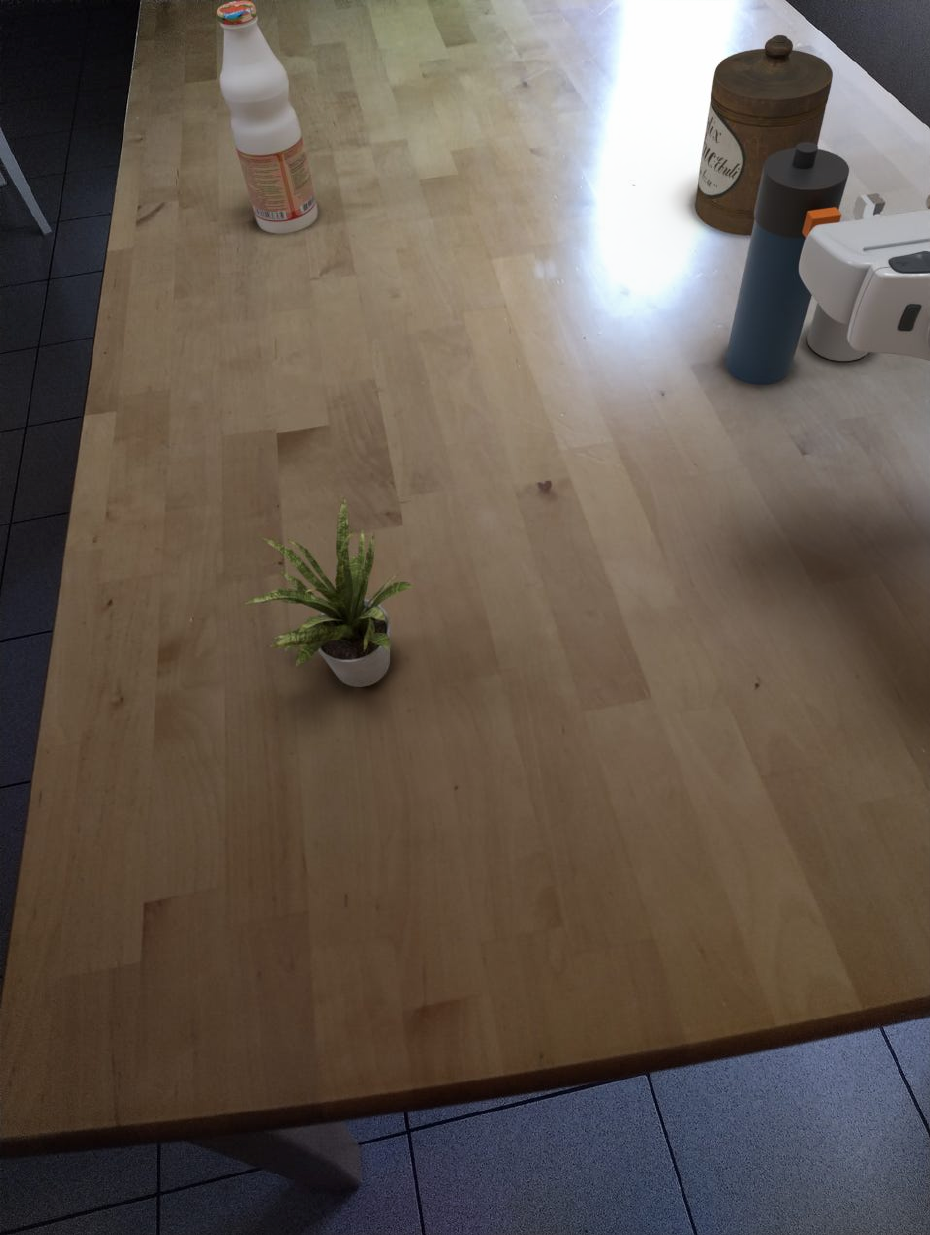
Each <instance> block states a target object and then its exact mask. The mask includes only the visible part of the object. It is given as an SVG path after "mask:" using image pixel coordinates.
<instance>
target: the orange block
mask: <svg viewBox="0 0 930 1235" xmlns="http://www.w3.org/2000/svg"><path fill="white" fill-rule="evenodd" d="M841 217H842V213H841V212H840V211H839V209H837V208H836V207H834V208H827V209H820V210H812V211H808V212H807V216H806V219H805V223H804V227H803V231H802V233H803V234H804V236H805V237H806V238H807V236H808V234H809V232H810V231H811V230H812V228H813V227H815V226H816V225H820V224H828V223H836V222H841Z"/></svg>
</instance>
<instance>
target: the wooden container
mask: <svg viewBox="0 0 930 1235" xmlns="http://www.w3.org/2000/svg"><path fill="white" fill-rule="evenodd" d="M833 78H834V71H833V69H832V67H831V66H830V64H829V63H828V62H827V61H825V60H824V59H822V58H821V57H819V56H816V55H815V54H811V53H809V52H804V51H800V50H794V44H793V41H792V40H791V39H790V38H788V36H787V35H784V34H776V35H774V36H772V37H771V38H769V39H768V40H767V41H766V42H765V44H764V48H757V49H750V50H743V51H741V52H738V53H735V54H732V55H729V56H727V57H726V58H724V59H722V60H721V61H720V62H719V63H718V64H717V65H716V67H715V69H714V73H713V77H712V84H711V92H710V101H709V102H710V103H709V108H708V114H707V121H706V128H705V133H704V140H703V145H702V151H701V157H700V164H699V171H698V179H697V188H696V193H695V203H694V210H695V213H696V214H697V216H698V217H699V219H700V220H701V221H702V222H704V223H705V224H706V225H707V226H709V227H712V228H713V229H715V230H718V231H721V232H724V233H728V234H732V235H738V236H751V234H752V230H753V225H754V220H755V219H754V210H755V205H756V201H757V196H758V191H759V186H760V181H761V176H762V171H763V167H764V163H765V161H766V160H767V159H768V158H769V157H770V156H771V155H773V154H774V153H776V152H779V151H782V150H785V149H791V148H796V147H797V145H798V144H799V143H802V142H811V143H814V144H816V145H817V146H818V145H819V141H820V135H821V131H822V128H823V123H824V119H825V118H824V117H825V115H826V114H825V113H826V108H827V104H828V101H829V97H830V93H831V89H832V85H833V84H832V83H833ZM818 147H819V146H818Z"/></svg>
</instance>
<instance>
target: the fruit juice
mask: <svg viewBox="0 0 930 1235" xmlns="http://www.w3.org/2000/svg"><path fill="white" fill-rule="evenodd" d="M216 15H217V20H218V22H219V25H220V27H221V28H222V29H223V45H222V46H223V49H222V50H223V53H222V66H221V70H220V75H219V87H220V88H219V89H220V92H221V96H222V98H223V100H224V102H225V104H226V105H227V108H228V109H229V112H230V130H231V134H232V140H233V143H234V148H235V150H236V153H237V157H238V160H239V165H240V167H241V171H242V174H243V178H244V181H245V185H246V188H247V192H248V195H249V200H250V203H251V207H252V210H253V214H254V217H255V220H256V223H257V225H258V227H259V228H260V229H261V230H263V231H265V232H267V233H271V234H291V233H294V232H299V231H301V230H303V229H305V228H307V227H309V226H310V225H311V224H313V223H314V222H315V221H316V219H317V217H318V215H319V211H318V210H319V209H318V205H317V203H318V202H317V198H316V195H315V190H314V185H313V181H312V176H311V172H310V167H309V162H308V157H307V153H306V149H305V144H304V141H303V134H302V131H301V130H302V129H301V125H300V122H299V119H298V114H297V113H296V110H295V108H294V107H293V105H292V104H291V102H290V81H289V77H288V73H287V71H286V68H285V67H284V65H283V63H282V62H280V60H279V59H278V58H277V57H276V55H275V54H274V52H273V51H272V49H271V47H270V45H269V43H268V41H267V40H266V38H265V35H264V34H263V32H262V31H261V29H260V27H259V26H258V23H257V22H258V19H259V18H258V12H257V8H256V5H255V4H254V2H252V1H249V0H234V1H230V2H226V3H224V4H222V5H220V6H219V7H218V8H217V10H216Z"/></svg>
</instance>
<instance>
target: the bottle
mask: <svg viewBox="0 0 930 1235" xmlns="http://www.w3.org/2000/svg"><path fill="white" fill-rule="evenodd" d="M849 174H850V167H849V164H848V163H847V162H846V160H845V159H844V158H842V157H841V156H839V155H838V154H836V153H834V152H831V151H829V150H826V149H821V148H819V146H817V145H816V144H814V143H811V142H802V143H799V144H798V145H797V147H796V148H791V149H785V150H782V151H779V152H776V153H774V154H773V155H771V156H770V157H769V158H768V159H767V160H766V161H765V163H764V167H763V171H762V176H761V181H760V186H759V191H758V196H757V201H756V205H755V210H754V219H755V220H754V225H753V230H752V234H751V235H750V240H749V245H748V250H747V255H746V258H745V263H744V267H743V268H744V269H743V274H742V278H741V282H740V288H739V292H738V297H737V302H736V306H735V311H734V316H733V321H732V327H731V331H730V335H729V340H728V346H727V350H726V355H725V359H724V365H725V367H726V370H727V372H728V373H729V374H730V375H731V376H732V377H733V378H735V379H736V380H738V381H740V382H742V383H746V384H749V385H755V386H766V385H767V386H768V385H773V384H777V383H779V382H781V381H783V380H785V379H786V378H787V377H788V376H789V374H790V372H791V369H792V367H793V364H794V359H795V356H796V352H797V348H798V345H799V342H800V338H801V335H802V331H803V327H804V324H805V321H806V317H807V314H808V310H809V307H810V303H811V299H812V297H813V296H812V295H811V293H810V292H809V290H808V289H807V287H806V286H805V284H804V282H803V281H802V279H801V277H800V274H799V263H800V258H801V253H802V249H803V246H804V243H805V240H806V237H805V236H804V234H803V233H802V231H803V227H804V223H805V219H806V216H807V212H808V211H812V210H820V209H827V208H834V207H836V208H837V209H838V210H839V209H840V205H841V202H842V199H843V195H844V193H845V192H844V191H845V188H846V185H847V181H848V178H849Z"/></svg>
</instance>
